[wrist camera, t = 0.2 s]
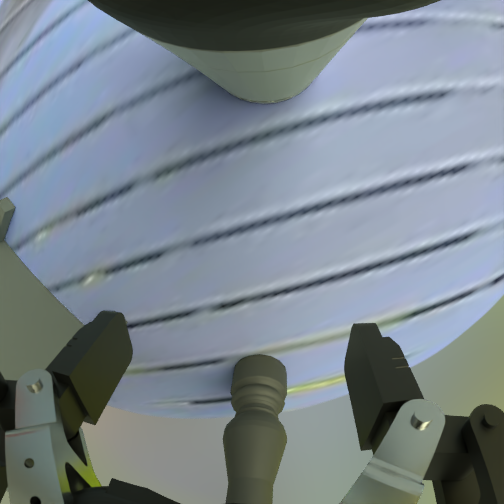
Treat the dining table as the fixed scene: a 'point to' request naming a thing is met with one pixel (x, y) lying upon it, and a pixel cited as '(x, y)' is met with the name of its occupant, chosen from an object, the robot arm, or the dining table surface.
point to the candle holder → (255, 429)
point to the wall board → (27, 313)
